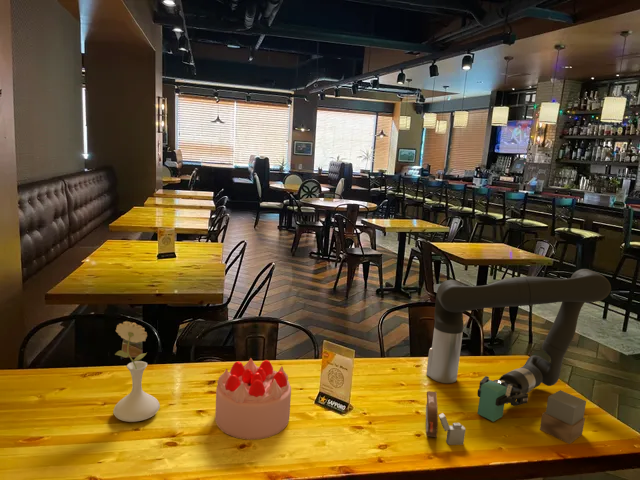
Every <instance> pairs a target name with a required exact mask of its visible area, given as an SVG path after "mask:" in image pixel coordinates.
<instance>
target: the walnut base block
mask: <svg viewBox="0 0 640 480" xmlns="http://www.w3.org/2000/svg"><path fill="white" fill-rule="evenodd" d="M585 419H586V418H585V417H583V418H582V419H581V420H579V421H578V422H576V423H575V424H573V425H570V424H568V423H565V422H563V421H561V420H559V419H557V418H555V417H553V416H550V415H548V414H546V411H544V412H542V413H541V420H540V426H539V430H540V431H542V432H544V433H546V434H549V435H550V436H553V437H554V438H557V439H558V440H561V441H562V442H564V443H567V444H568V445H570V444H572V443H573V442H575V440H577V439H578V438H580V437H581V436H582V435H583V431H584V425H585Z"/></svg>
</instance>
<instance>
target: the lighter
mask: <svg viewBox="0 0 640 480" xmlns="http://www.w3.org/2000/svg"><path fill="white" fill-rule="evenodd" d="M438 419H439V421H440V423H441V426H442V429H443V430H444V432H446V437H445V438H446V439H445V442H446V443H447V444H448V445H449V446H456V445H458V446H462V445H464V443H465V435H466V427H465V426H464V425H463V424H461V423H460V422H453V423H452V425H449V422H448V420H447V417H446V415H445V414H444V413H443V412H442V413H440V414H438Z"/></svg>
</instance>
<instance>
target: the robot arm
mask: <svg viewBox="0 0 640 480" xmlns="http://www.w3.org/2000/svg"><path fill="white" fill-rule="evenodd" d="M611 291H612V286H611V283H610V281H609V279H608V278H606V277H605V276H604V275H602V274H600V273H598V272H595V271H593V270H591V269H588V268H580V269H578V270H576V271H574V273H572V275H571V277H568V278H553V277H552V278H551V277H543V276H542V277H541V276H533V275H532V276H529V275H527V276H518V277H516V276H515V277H507V278H503V279H499V280H497V281H495V282H494V281H493V282H492V283H489V284H484V285H470V286H469V285H466V286H465V285H463V284H462V283H461V282H459V281H458V280H455V279H448V280H444V281H442V282H441V283H440V284H439V286H438V288H437V291H436V295H435V305H434V326H433V327H434V328H433V334H432V335H433V336H432V344H431V347H430V348H429V350H428V356H427V366H426V376H428V377H429V378H430V379H432V380H433V381H436V382H438V383H441V384H454V383H455V382H456V381H457V380H458V372H459V371H458V370H459V365H460V364H459V363H460V356H461V349H462V341H463V340H462V339H463V331H464V326H465V325H464V312H468V311H474V310H475V311H476V310H479V309H486V308H505V307H507V308H508V307H524V306H536V305H546V304H554V303H561V304H560V307H559V309H558V312H557V315H556V317H555V319H554V321H553V323H552V325H551V327H550V329H549V331H548V333H547V334H546V337H545V338H544V340H543V342H542V345H541V349H542V351H543V352H544V353H545V354H547V355H548V356H549V358H550V361H548V360H546V359H545V358H543V357H542V356H539V355H531V356H529V357H528V359H527V360H526V362H525V364H524V365H523V366H521V367H519V368H515V369H513V370H510V371H507V373H504V374H502V375H501V376H500V377H499V378H498V379H494V380H491V379H490V376H487V375H486V376H485V375H484V377H483V378H482V379H481V380H480V382H479V386H478V387H479V388H478V389H477V393H476V394H477V397H478V398H480V394H481V385H482V384H484V383H486V382H488V381H490V380H491V381H493V382H496V383H498V384H500V385H502V386H505V387H507V390H506V393H505V395H502V396H500V397H498V398H497V399H496V404H495V405H496V406H501V405H504V406H505V404H506V405H508V404H510V406H512V407H516V406H522V405H524V404H528V400H529V394H528V393H530V392H531V391H532V390H533V389H535V388H537V387H538V386H540V385H541V384H543V385H545V386H547V387H551V386H553V385H556V384H557V383H558V381H559V379H560V376H561V371H562V366H563V365H562V364H563V361H564V358H565V354H566V353H567V351H568V349H569V347H570V346H571V344H572V342H573V339H574V337H575V335H576V334H575V333H576V330H577V324H578V319H579V316H580V313H581V311H582V310H581V309H582V308H583V306H584V304H585V303H596V302H600V301H603V300H604V299H606V298H607V297H608V296H610V295H609V294H610V293H611Z"/></svg>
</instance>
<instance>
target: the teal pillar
mask: <svg viewBox="0 0 640 480" xmlns="http://www.w3.org/2000/svg"><path fill="white" fill-rule="evenodd" d="M489 380H490V381H488V382H486V383H484V384H482V385H481V394H480V397H479V400H478V407H477V415H479V416H481V417H483V418H485V419H487V420H489V421H491V422H495V421H497V420H499V419H501V418H502V417H503V416H504V408H505V404H504V405H501V406H496V405H495V404H496V399H497V398H498V397H500V396H502V395H505V393H506V390H507V387H505V386H502V385H500V384H498V383H496V382H493V381H494V380H492V381H491V379H489Z"/></svg>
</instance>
